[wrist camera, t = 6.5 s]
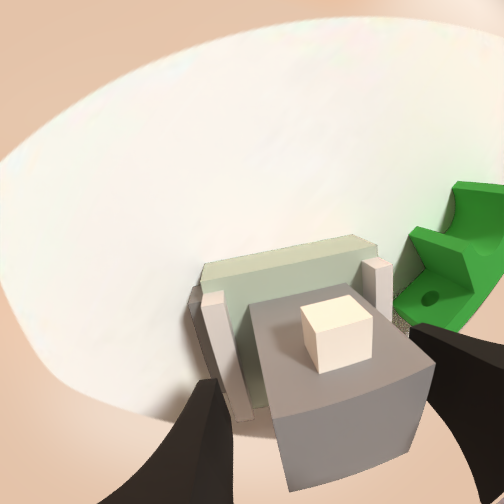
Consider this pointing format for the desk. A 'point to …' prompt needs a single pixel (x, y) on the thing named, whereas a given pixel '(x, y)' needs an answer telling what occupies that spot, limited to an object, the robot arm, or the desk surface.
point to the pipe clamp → (458, 260)
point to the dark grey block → (338, 383)
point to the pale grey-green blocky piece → (271, 287)
